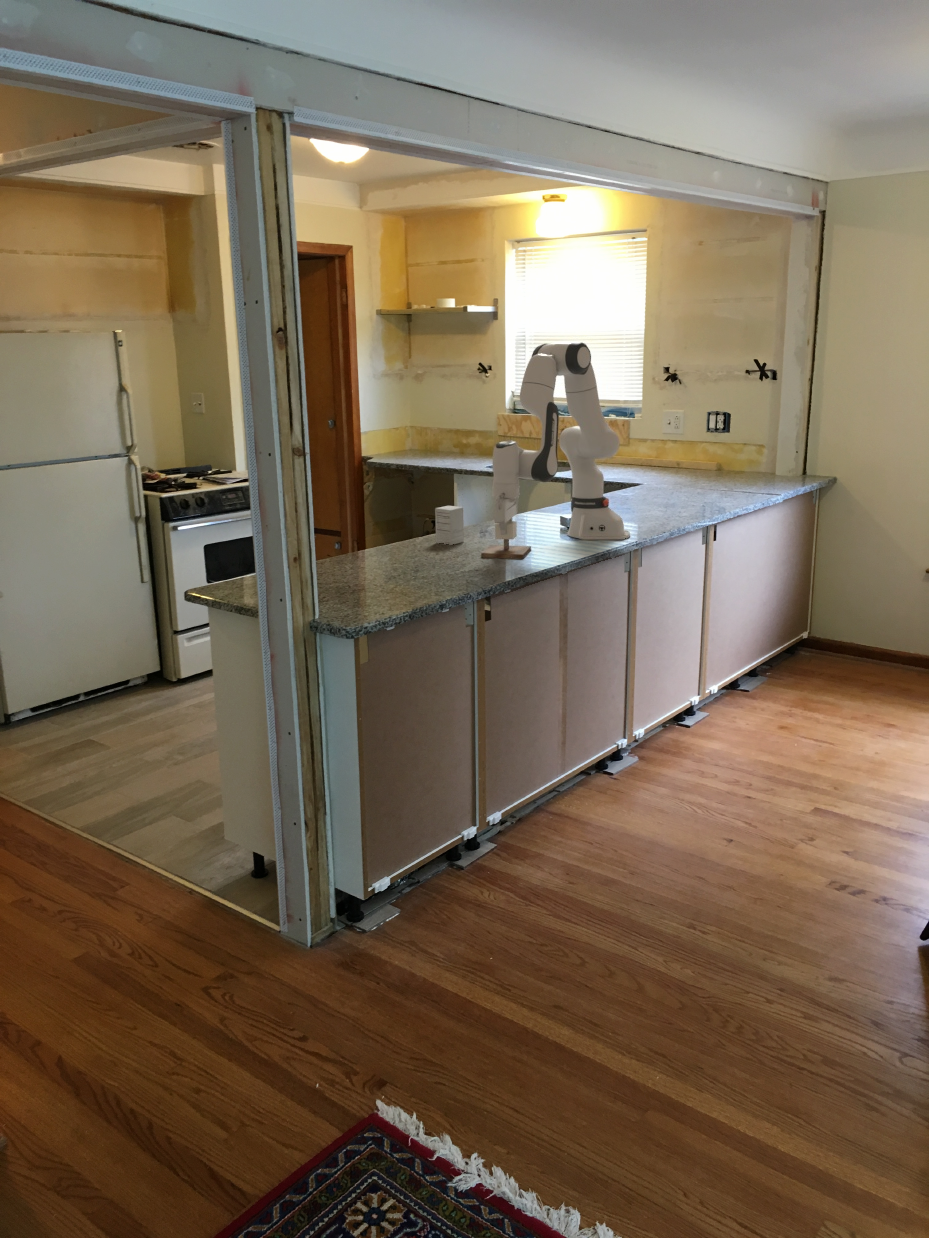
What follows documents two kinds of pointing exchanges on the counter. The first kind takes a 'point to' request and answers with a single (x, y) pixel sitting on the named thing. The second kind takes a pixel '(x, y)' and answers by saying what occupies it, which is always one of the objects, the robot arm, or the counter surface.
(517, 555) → the pin board
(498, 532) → the collar
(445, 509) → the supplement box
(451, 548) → the counter surface
